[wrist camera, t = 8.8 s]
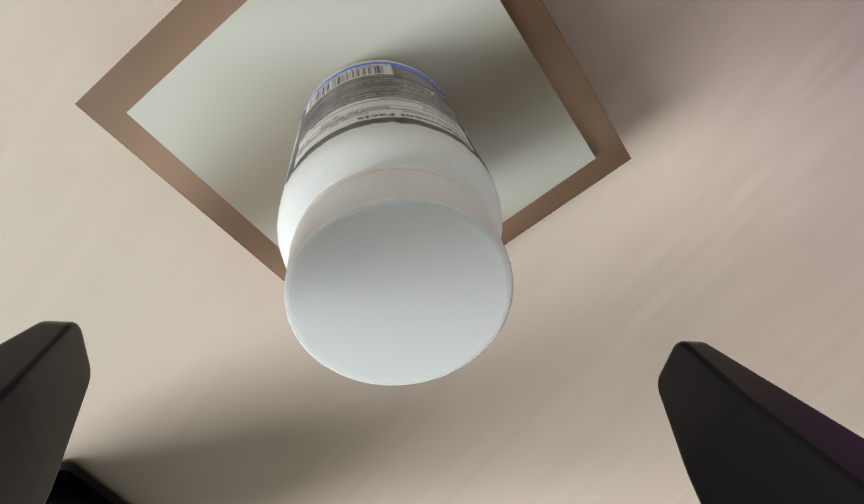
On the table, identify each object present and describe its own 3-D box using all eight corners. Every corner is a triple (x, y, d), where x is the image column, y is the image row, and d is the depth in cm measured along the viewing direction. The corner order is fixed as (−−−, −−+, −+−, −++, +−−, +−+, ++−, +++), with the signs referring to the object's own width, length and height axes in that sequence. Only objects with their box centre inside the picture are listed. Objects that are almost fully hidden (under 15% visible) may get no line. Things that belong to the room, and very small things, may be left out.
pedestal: (596, 128, 21) (635, 162, 18) (357, 297, 23) (358, 349, 21) (404, -201, 15) (416, -228, 12) (114, 76, 17) (70, 107, 15)
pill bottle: (430, 220, 18) (482, 416, 11) (287, 189, 17) (241, 388, 10) (478, 80, 16) (581, 214, 9) (316, 34, 15) (284, 146, 7)
